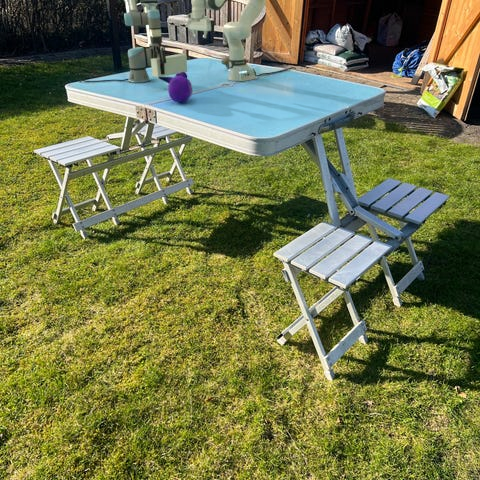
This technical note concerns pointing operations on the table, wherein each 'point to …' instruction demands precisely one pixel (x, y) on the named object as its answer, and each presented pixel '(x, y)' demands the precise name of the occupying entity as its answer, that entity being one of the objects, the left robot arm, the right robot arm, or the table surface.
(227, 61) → the cream textured rounded piece
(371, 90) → the table surface
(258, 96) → the table surface
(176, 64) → the box
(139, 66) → the left robot arm
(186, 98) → the toy
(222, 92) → the table surface
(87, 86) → the table surface
